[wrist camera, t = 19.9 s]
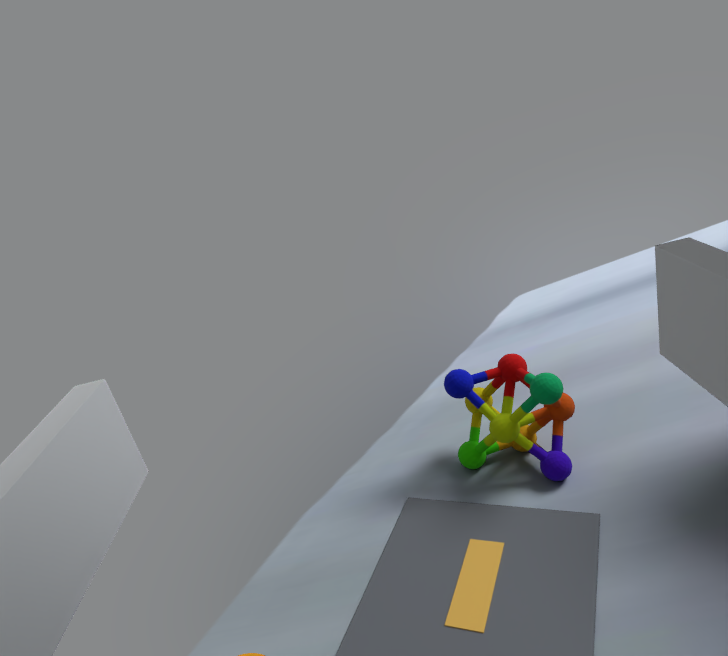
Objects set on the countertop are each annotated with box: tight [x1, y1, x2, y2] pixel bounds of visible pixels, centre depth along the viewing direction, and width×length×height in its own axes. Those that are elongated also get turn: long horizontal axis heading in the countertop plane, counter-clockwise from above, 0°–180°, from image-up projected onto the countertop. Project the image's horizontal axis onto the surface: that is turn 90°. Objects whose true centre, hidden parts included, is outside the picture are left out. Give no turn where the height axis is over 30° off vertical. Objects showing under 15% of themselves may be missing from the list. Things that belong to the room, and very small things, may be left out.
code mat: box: [336, 498, 600, 656], centre depth 46 cm, size 18×18×1 cm
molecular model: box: [444, 354, 575, 481], centre depth 56 cm, size 12×7×12 cm, turn 58°
